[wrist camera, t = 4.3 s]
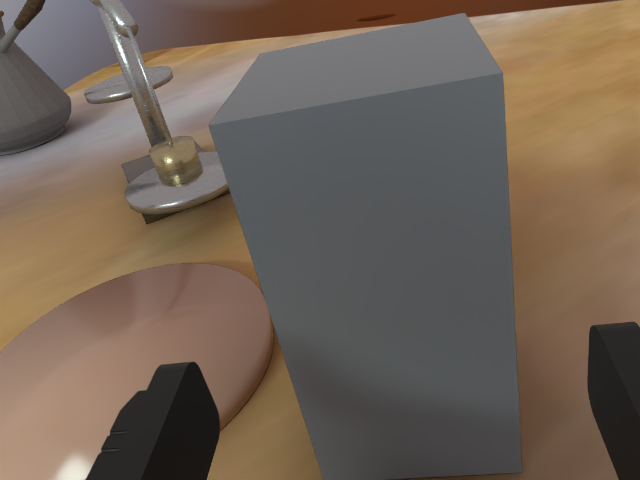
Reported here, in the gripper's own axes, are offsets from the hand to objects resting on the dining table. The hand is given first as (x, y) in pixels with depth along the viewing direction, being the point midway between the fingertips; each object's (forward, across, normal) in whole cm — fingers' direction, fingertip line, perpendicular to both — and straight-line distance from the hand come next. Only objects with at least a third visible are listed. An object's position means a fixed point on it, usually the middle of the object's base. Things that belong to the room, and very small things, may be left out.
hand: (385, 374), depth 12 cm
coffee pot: (+45, +36, +7) cm, 58 cm away
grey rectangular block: (+6, 0, +7) cm, 9 cm away
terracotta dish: (+9, +12, +7) cm, 17 cm away
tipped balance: (+28, +17, +7) cm, 34 cm away
